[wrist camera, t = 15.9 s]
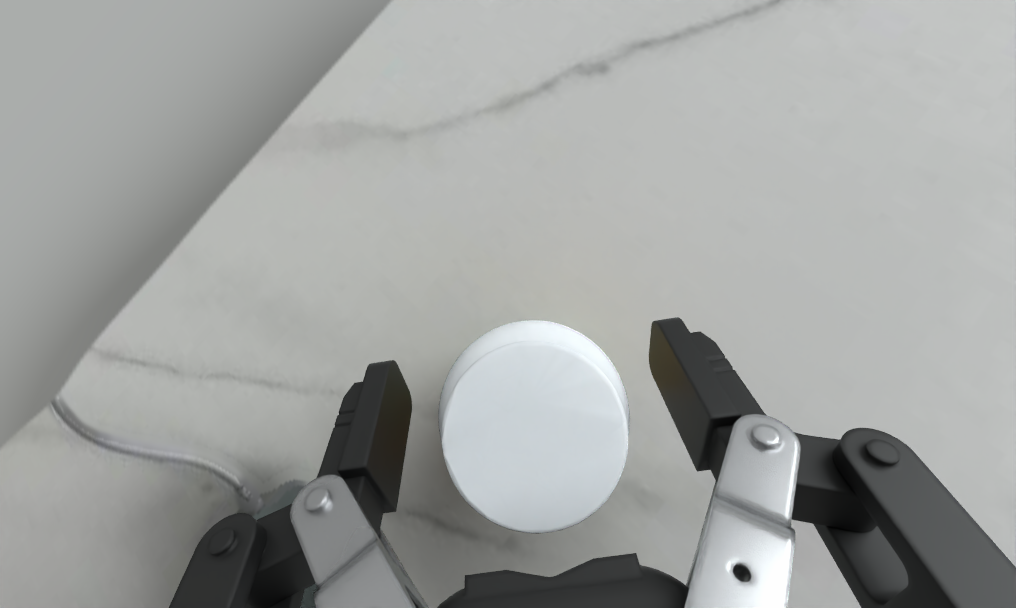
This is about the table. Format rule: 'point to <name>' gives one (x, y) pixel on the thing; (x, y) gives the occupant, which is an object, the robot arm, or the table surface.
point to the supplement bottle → (534, 426)
